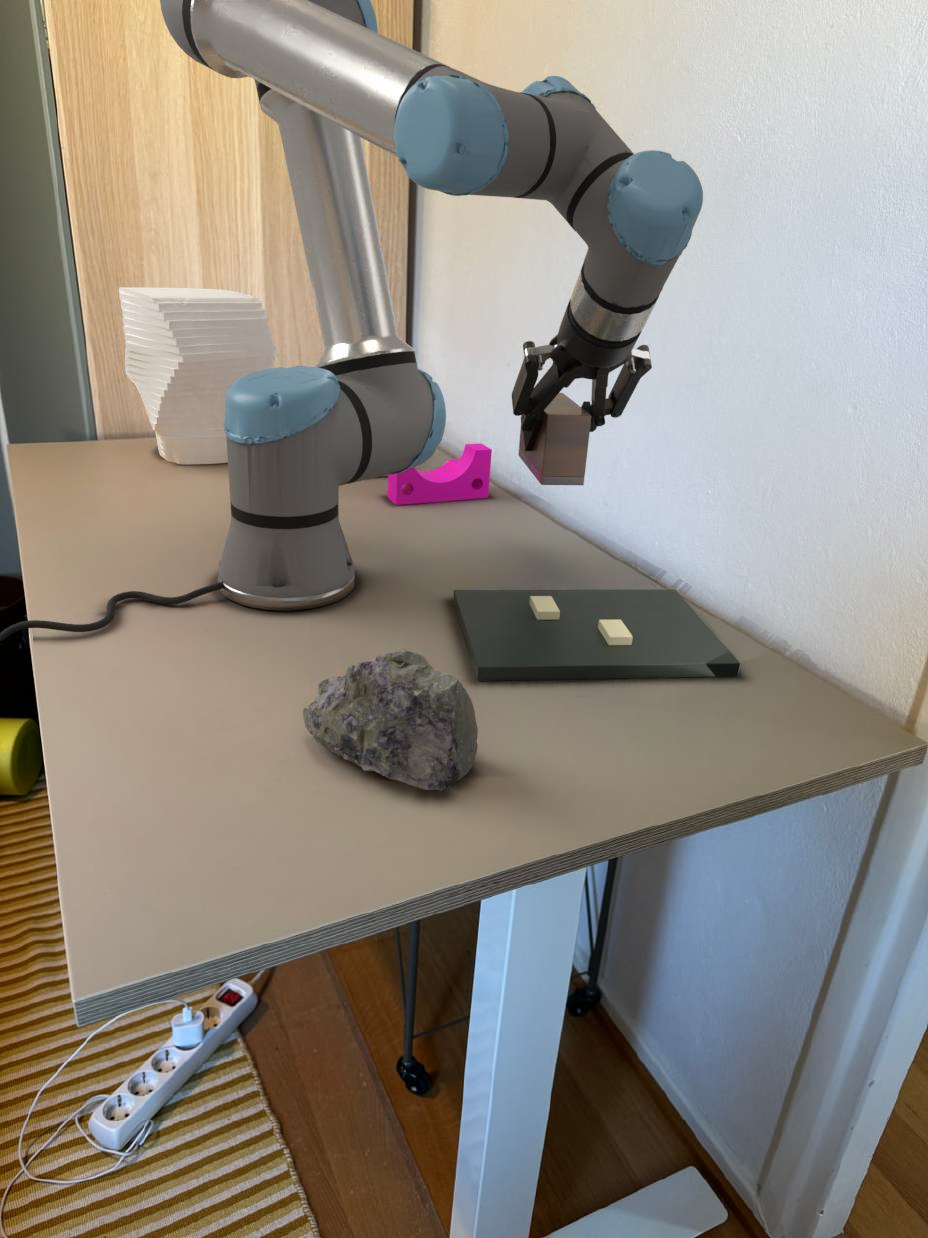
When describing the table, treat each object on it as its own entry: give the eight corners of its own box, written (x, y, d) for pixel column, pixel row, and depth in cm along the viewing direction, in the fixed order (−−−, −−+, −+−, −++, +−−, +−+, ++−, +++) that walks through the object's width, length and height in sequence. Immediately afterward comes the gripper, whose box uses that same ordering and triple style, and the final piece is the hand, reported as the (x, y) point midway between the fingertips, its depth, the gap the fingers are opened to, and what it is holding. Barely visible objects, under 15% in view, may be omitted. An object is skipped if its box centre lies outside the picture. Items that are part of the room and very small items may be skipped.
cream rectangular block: (559, 619, 92) (560, 611, 91) (537, 620, 91) (537, 611, 91) (550, 604, 95) (551, 595, 95) (529, 604, 95) (529, 595, 94)
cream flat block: (631, 645, 87) (633, 636, 87) (608, 645, 87) (609, 636, 86) (619, 627, 91) (621, 619, 90) (597, 628, 90) (598, 619, 90)
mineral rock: (296, 735, 72) (293, 625, 68) (407, 702, 78) (411, 599, 73) (373, 822, 62) (375, 701, 58) (494, 777, 68) (504, 664, 64)
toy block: (471, 485, 139) (474, 439, 136) (488, 497, 134) (491, 449, 131) (382, 492, 133) (382, 443, 130) (396, 504, 128) (397, 454, 125)
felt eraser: (583, 485, 100) (591, 415, 96) (541, 485, 99) (547, 414, 96) (556, 456, 111) (562, 392, 108) (518, 455, 111) (523, 391, 107)
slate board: (737, 676, 86) (740, 663, 85) (477, 681, 82) (478, 667, 81) (673, 600, 102) (675, 589, 101) (452, 601, 98) (453, 589, 97)
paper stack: (129, 444, 149) (112, 283, 138) (284, 436, 160) (280, 287, 149) (146, 478, 132) (128, 299, 121) (319, 467, 143) (316, 301, 132)
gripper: (691, 283, 85) (619, 416, 107) (510, 275, 83) (474, 412, 104) (703, 348, 83) (626, 470, 105) (517, 341, 80) (478, 468, 102)
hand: (550, 441), depth 104 cm, fingers closed on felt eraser, 5 cm apart
